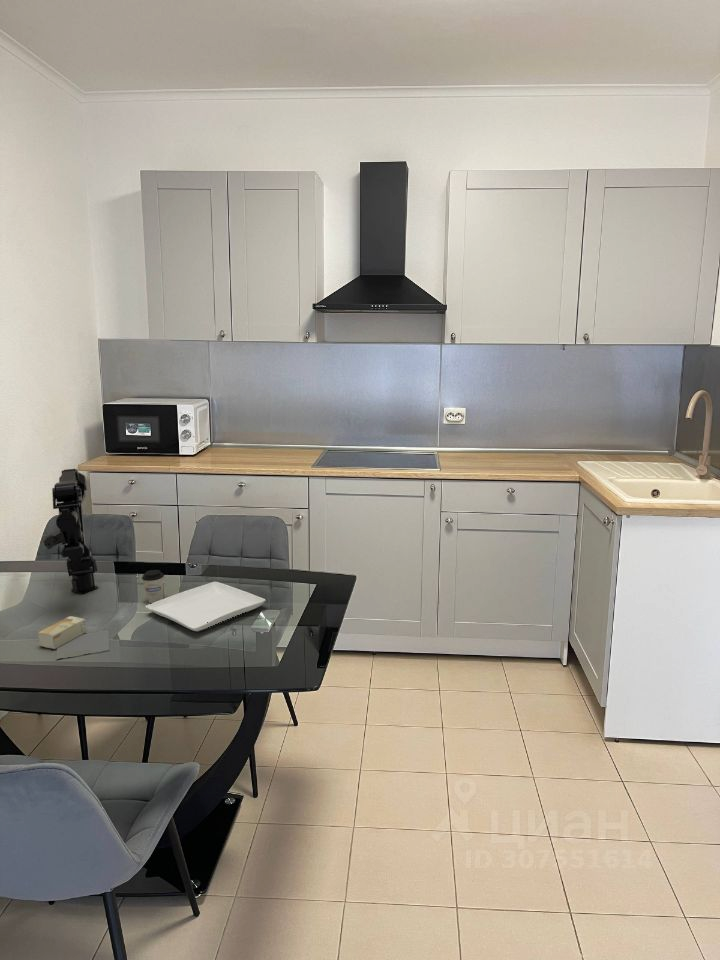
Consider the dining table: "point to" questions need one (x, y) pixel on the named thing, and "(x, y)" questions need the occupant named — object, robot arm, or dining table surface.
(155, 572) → the coffee cup
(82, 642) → the mat
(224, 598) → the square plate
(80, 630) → the skincare box
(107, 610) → the dining table surface
